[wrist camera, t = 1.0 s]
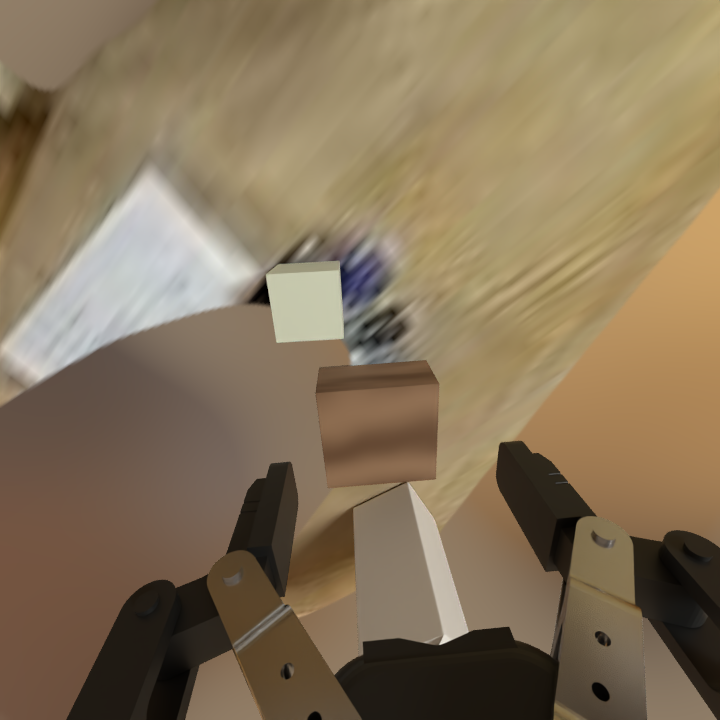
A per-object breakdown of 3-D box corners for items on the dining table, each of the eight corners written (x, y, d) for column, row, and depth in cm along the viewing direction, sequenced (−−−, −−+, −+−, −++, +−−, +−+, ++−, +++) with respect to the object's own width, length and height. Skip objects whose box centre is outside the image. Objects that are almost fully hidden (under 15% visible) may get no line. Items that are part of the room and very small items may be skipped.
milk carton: (382, 543, 41) (412, 783, 24) (352, 506, 39) (360, 746, 22) (435, 519, 40) (506, 753, 23) (407, 479, 38) (463, 710, 20)
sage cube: (278, 264, 28) (265, 274, 23) (339, 260, 28) (338, 270, 24) (286, 322, 30) (276, 342, 25) (343, 319, 30) (343, 338, 26)
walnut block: (319, 367, 32) (315, 393, 28) (425, 359, 32) (439, 383, 28) (329, 453, 36) (327, 488, 32) (423, 445, 36) (435, 479, 32)
